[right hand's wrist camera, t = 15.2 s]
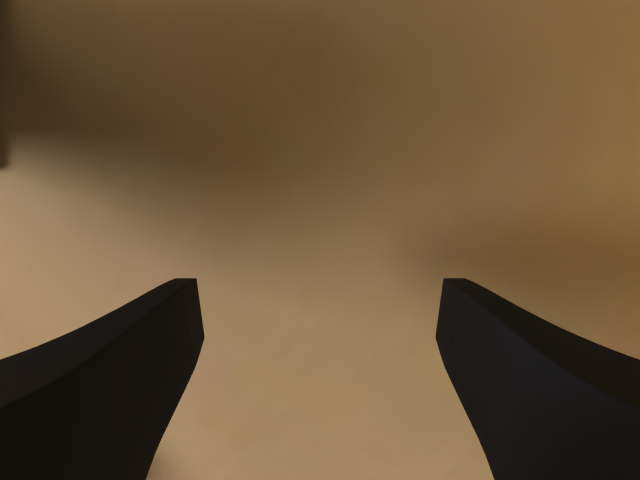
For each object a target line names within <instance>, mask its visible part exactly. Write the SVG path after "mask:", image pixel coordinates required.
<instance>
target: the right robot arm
mask: <svg viewBox="0 0 640 480" xmlns="http://www.w3.org/2000/svg"><path fill="white" fill-rule="evenodd" d="M203 341H204V330H203V323H202V316H201V308H200V301H199V294H198V287H197V280H196V278H175V279H173V280H170V281H168V282H166V283H164V284H162V285H160V286H158V287H156V288H154V289H153V290H151V291H149V292H147V293H145V294H143V295H142V296H140V297H138V298H136V299H134V300H133V301H131V302H129V303H127V304H125V305H123V306H122V307H120V308H118V309H116V310H114V311H112V312H110V313H108V314H106V315H104V316H102V317H100V318H98V319H96V320H94V321H92V322H90V323H89V324H87V325H85V326H83V327H80V328H78V329H76V330H74V331H72V332H70V333H67V334H65V335H63V336H61V337H58V338H56V339H54V340H51V341H49V342H46V343H44V344H42V345H39V346H37V347H34V348H32V349H29V350H26V351H24V352H21V353H18V354H15V355H12V356H9V357H7V358H4V359H1V360H0V480H146V477H147V474H148V471H149V469H150V466H151V463H152V460H153V457H154V455H155V453H156V450H157V448H158V446H159V443H160V441H161V439H162V436H163V434H164V432H165V430H166V428H167V426H168V424H169V422H170V420H171V418H172V415H173V413H174V411H175V409H176V407H177V405H178V403H179V401H180V399H181V397H182V395H183V393H184V390H185V388H186V386H187V384H188V382H189V380H190V378H191V375H192V373H193V371H194V369H195V366H196V363H197V360H198V357H199V354H200V351H201V347H202V344H203ZM436 341H437V344H438V347H439V351H440V354H441V357H442V360H443V363H444V366H445V369H446V371H447V373H448V375H449V378H450V380H451V382H452V384H453V386H454V388H455V390H456V393H457V395H458V397H459V399H460V401H461V403H462V405H463V407H464V409H465V411H466V413H467V415H468V418H469V420H470V422H471V424H472V426H473V428H474V430H475V432H476V434H477V436H478V439H479V441H480V443H481V446H482V448H483V450H484V453H485V455H486V457H487V460H488V463H489V466H490V469H491V471H492V474H493V477H494V480H640V360H639V359H636V358H633V357H630V356H627V355H625V354H622V353H619V352H617V351H614V350H611V349H609V348H606V347H604V346H601V345H599V344H597V343H594V342H592V341H589V340H587V339H584V338H582V337H580V336H577V335H575V334H573V333H571V332H568V331H566V330H564V329H562V328H560V327H558V326H556V325H554V324H552V323H550V322H548V321H546V320H544V319H541V318H539V317H538V316H536V315H534V314H532V313H530V312H528V311H526V310H524V309H522V308H520V307H519V306H517V305H515V304H513V303H511V302H509V301H508V300H506V299H504V298H502V297H500V296H499V295H497V294H495V293H493V292H491V291H490V290H488V289H486V288H484V287H482V286H480V285H478V284H476V283H474V282H472V281H470V280H467V279H465V278H444V280H443V287H442V294H441V301H440V308H439V316H438V323H437V330H436Z"/></svg>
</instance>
